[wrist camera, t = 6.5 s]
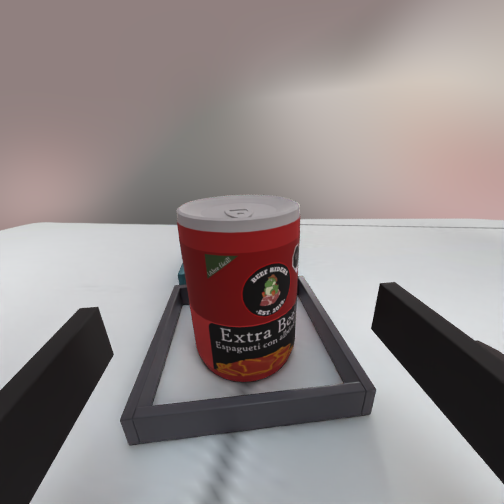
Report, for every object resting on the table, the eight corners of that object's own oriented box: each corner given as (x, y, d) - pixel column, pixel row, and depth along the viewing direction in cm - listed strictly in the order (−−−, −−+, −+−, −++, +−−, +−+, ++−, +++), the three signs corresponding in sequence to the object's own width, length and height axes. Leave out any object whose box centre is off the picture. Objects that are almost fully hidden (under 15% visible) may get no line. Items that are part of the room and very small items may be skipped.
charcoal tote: (302, 292, 26) (302, 275, 25) (371, 414, 13) (377, 389, 13) (177, 302, 24) (174, 285, 24) (128, 445, 12) (119, 420, 11)
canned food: (214, 406, 14) (191, 228, 10) (187, 327, 21) (166, 201, 17) (316, 359, 17) (330, 207, 13) (263, 303, 24) (262, 191, 20)
